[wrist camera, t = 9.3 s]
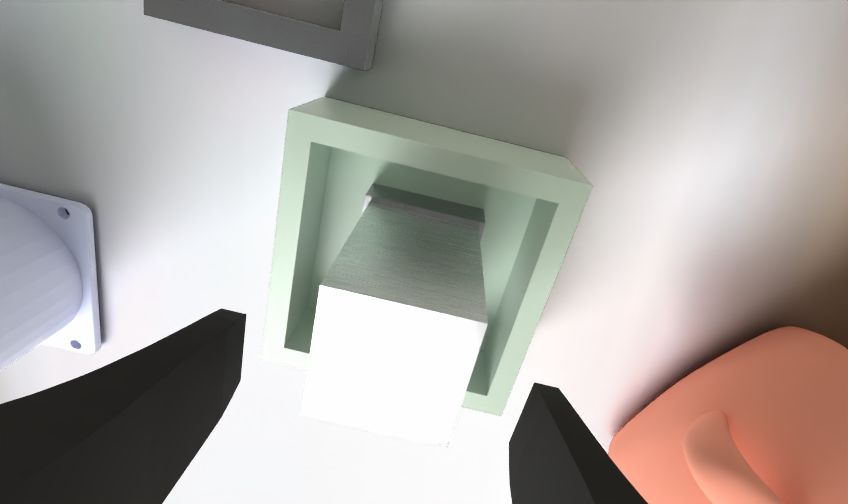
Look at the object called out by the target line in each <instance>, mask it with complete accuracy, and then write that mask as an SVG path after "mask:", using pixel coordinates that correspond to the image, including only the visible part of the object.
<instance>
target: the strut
mask: <svg viewBox="0 0 848 504" xmlns="http://www.w3.org/2000/svg"><path fill="white" fill-rule="evenodd" d="M485 224H486V222H485V214H484V209H481V208H477V207H473V206H469V205H464V204H460V203H456V202H452V201H447V200H443V199H439V198H434V197H430V196H426V195H422V194H417V193H413V192H409V191H405V190H400V189H396V188H392V187H388V186H383V185H379V184H375V183H373V184H372V185H371V187H370V188H369V190H368V192H367V193H366V195H365V199H364V205H363V210H362V216H361V217H360V219H359V221H358V222H357V224H356V226H355V227H354V229H353V231H352V232H351V234H350V236H349V237H348V239H347V241H346V242H345V244H344V246H343V247H342V249H341V251H340V253H339V254H338V256H337V258H336V259H335V261H334V263H333V264H332V266H331V268H330V269H329V271H328V273H327V274H326V276H325V278H324V279H323V281H322V283H321V284H320V288H319V295H318V302H317V309H316V316H315V323H314V330H313V337H312V344H311V351H310V358H309V365H308V372H307V379H306V386H305V393H304V400H303V406H302V413H301V414H302V415H306V416H311V417H315V418H319V419H324V420H328V421H333V422H337V423H342V424H346V425H351V426H355V427H360V428H364V429H369V430H373V431H378V432H382V433H387V434H391V435H396V436H400V437H405V438H409V439H413V440H418V441H422V442H427V443H431V444H436V445H440V446H445V447H448V444H449V441H450V438H451V435H452V432H453V429H454V426H455V423H456V420H457V417H458V414H459V411H460V408H461V405H462V402H463V399H464V395H465V392H466V389H467V386H468V383H469V380H470V377H471V374H472V371H473V368H474V365H475V362H476V359H477V356H478V353H479V350H480V347H481V344H482V340H483V337H484V334H485V331H486V328H487V325H488V319H487V309H486V298H485V288H484V277H483V266H482V256H481V245H480V241H481V238H482V234H483V231H484V227H485Z"/></svg>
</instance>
